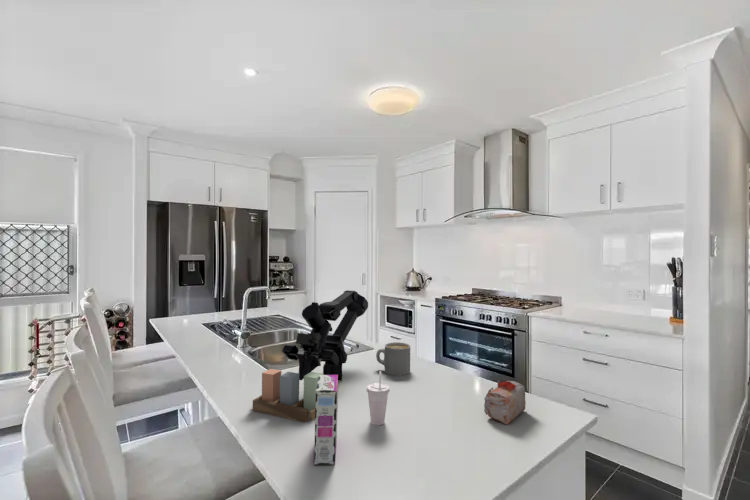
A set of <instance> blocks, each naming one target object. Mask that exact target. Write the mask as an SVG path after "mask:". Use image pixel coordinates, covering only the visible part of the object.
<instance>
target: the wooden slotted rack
mask: <svg viewBox="0 0 750 500" xmlns="http://www.w3.org/2000/svg"><path fill="white" fill-rule="evenodd" d="M252 411H253V412H256V413H260V414H265V415H270V416H274V417H279V418H282V419H283V418H284V419H288V420H293V421H296V422H301V423H307V422H308V421H311V422H312V421H315V408H314V409H312V410H311V411H309V409H305V408H304V397H303V398H302V399H301V400H300V399H299V402H297V403H296V404H294V405H293V406H291V405H286V404H281V403H280V398H279V399H278V400H276V401H275V402H271V401H266V400H262V394H261V395H260V396H257V397H256V398H254V399H253V400H252Z"/></svg>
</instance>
